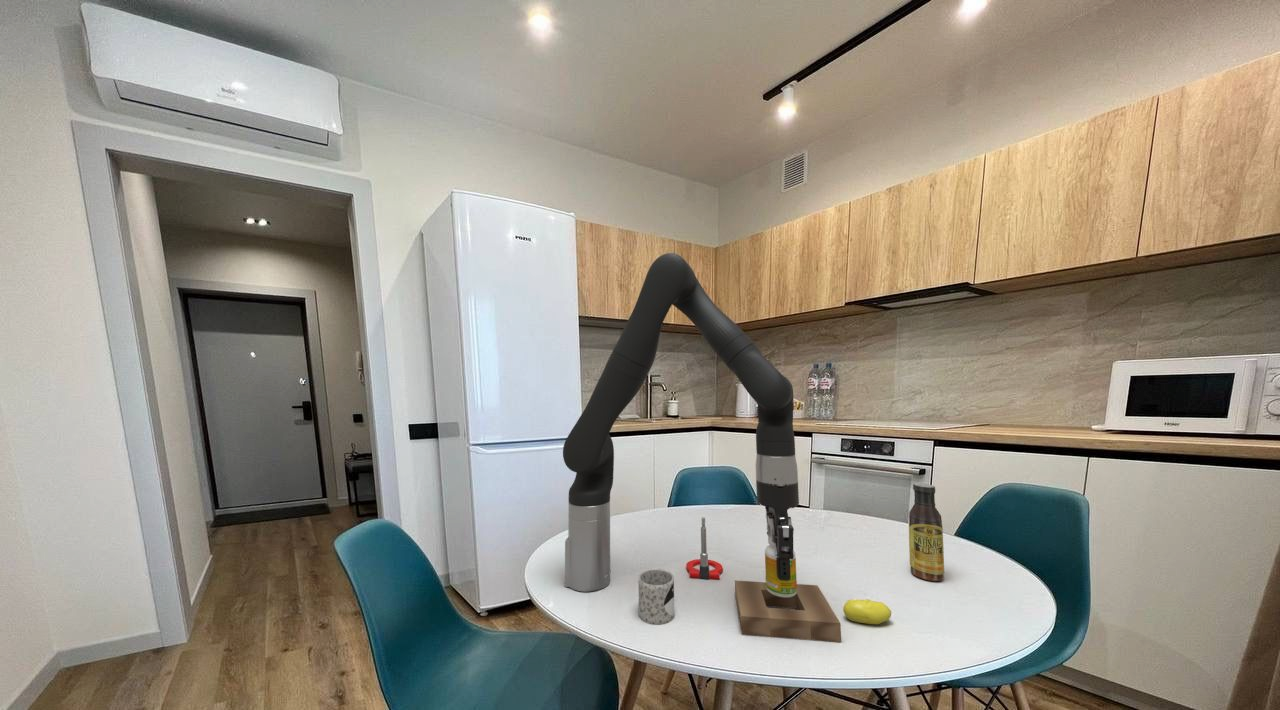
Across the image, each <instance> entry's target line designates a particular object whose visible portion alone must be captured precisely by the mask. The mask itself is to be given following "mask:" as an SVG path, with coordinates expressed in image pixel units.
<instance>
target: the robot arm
mask: <svg viewBox="0 0 1280 710" xmlns="http://www.w3.org/2000/svg"><path fill="white" fill-rule="evenodd" d="M672 306H673V307H675V308H676V309H677V310H679V311H680V312H681V313H682V314H684V315H685V316H686V318H688V319H689V321H691V323H692V324H693V325H694V326H695V328H697V330H698V331H699V332H700V334H701V335H702V337H703V338H704V339H705V341H706V343H707V344H708V345H709V346H710V348H711V349H712V350H713V352H714V353H715V354H716V355H717V357H718V358H719V359H720V360H721V361H722V362H723V363H724V365H725V366H726V367H727V368H728V369H729V370H730V371H731V372H732V373H733V374H734V375H735V376H736V377H737V379H738V381H739V382H740V384H742V386H743V388H744V389H745V391H747V393H748V394H749V396H750V397H751V399H753V401H755V403H756V404H757V419H758V423H757V425H756V430H755V431H756V432H755V441H756V442H755V445H756V449H755V450H756V451H755V452H756V458H755V487H756V489H755V490H756V502H757V503H758V504H759V505H760V506H763V507H764V509H765V518H766V535H767V536H768V535H769V534H771V540H772V542H773V543H774V544H775V551H776V553H775V556H776V565H777V577H778V579H779V580H790V578H791V576H790V559H793V557H794V554H793V550H794V531H795V530H794V529H795V528H794V527H793V526H794V525H793V522H792V518H791V516H789V514H788V511H789V509H794V508H796V507H798V506H799V504H800V497H799V496H800V495H799V493H800V492H799V476H798V475H799V474H798V470H799V469H798V464H797V457H796V456H797V455H796V440H795V439H796V438H795V432H794V424H793V423H794V422H793V420H794V388H793V385H792V383H791V381H790V379H788V377H786V376H785V375H784V374H782V373H781V372H780V371H779V370H778V369H777V368H776V367H775V366H774V365H773V364H772V362H770V361H769V360H768V359H767V358H766V357H765V356H764V355H763V353H762V351H761V350H760V349H759V347H758V345H756V343H754V341H753V340H752V339H751V338H750V337H749V336H748V335H747V334H746V333H745V332H744V331H743V330H742V329H741V327H739V326H738V324H736V323H735V322H734V321H733V320H732V319H731V318H730V317H728V315H727V314H726V313H724V312H723V311H722V310H721V309H720V308H719V307H718V306H717V305H716V303H714V302H713V300H712V299H711V298H710V297H709V295H708V294H707V292H706V291H705V290H704V288H703V286H702V285H701V283H700V281H699V280H698V278H697V276H696V274H695V271H694V270H693V268H692V267H691V265H689V263H688V262H687V261H686V260H685V259H684V258H683V256H681V255H679V254H678V253H675V252H668V253H663V254H662V255H660V256H658V257H657V258H656V259H655V260H654V261H653V262H652V264H651V265H650V267H649V269H648V271H647V273H646V276H645V279H644V281H643V284H642V287H641V290H640V291H639V295H638V297H637V299H636V302H635V305H634V308H633V310H632V312H631V314H630V315H629V317H628V320H627V321H626V323H625V325H624V328H623V329H622V333H621V334H620V336H619V338H618V340H617V342H616V344H615V345H614V348H613V350H612V352H611V354H610V355H609V358H608V360H607V362H606V364H605V366H604V367H603V370H602V372H601V374H600V377H599V379H598V382H597V383H596V385H595V386H594V389H593V391H592V394H591V396H590V397H589V401H587V404H586V406H585V408H584V410H583V411H582V413H581V414H580V416H579V418H578V420H577V421H576V422H575V424H574V426H573V427H572V429H571V430H570V432H569V433H568V434H567V437H566V439H565V442H564V443H563V447H562V458H563V462H564V464H565V466H566V467H567V468H568V469H569V470H570V471H571V472H573V473H576V474H575V478H574V480H573V483H572V484H571V486H570V487H569V489H568V509H567V510H568V512H567V513H568V515H567V516H568V517H567V518H568V526H567V527H568V529H567V530H568V531H567V532H568V534H567V535H568V537H567V538H566V539H565V541H564V587H565V588H567V587H568V588H571V589H572V590H574V591H577V592H583V593H585V592H595V591H598V590H602V589H604V588H605V587H607V586H609V584H610V583H611V571H612V570H611V493H612V492H611V491H612V489H613V484H614V472H615V471H614V468H615V467H614V465H615V464H614V463H615V450H614V448H615V447H614V442H613V439H612V437H611V434H610V432H611V430H612V427H613V426H614V424H615V423H616V421H617V419H618V417H619V416H620V415H621V414H622V412H623V411H624V410H625V409H626V407H628V405H629V404H630V403H631V401H633V400H634V398H635V396H636V395H637V394H638V392H639V391H640V390H641V389H642V387H643V384H644V382H645V381H646V379H647V377H648V375H649V372H650V370H651V369H652V367H653V364H654V361H655V358H656V356H657V350H658V347H659V340H660V335H661V330H662V326H663V324H664V321H665V319H666V317H667V315H668V313H669V311H670V309H671V308H672ZM775 536H777V538H776V537H775ZM782 547H786V549H787V551H781V548H782Z"/></svg>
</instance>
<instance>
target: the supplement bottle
mask: <svg viewBox="0 0 1280 710" xmlns="http://www.w3.org/2000/svg"><path fill="white" fill-rule="evenodd" d="M775 537H776V538H777V536H775ZM767 542H768V545H767V546H765V548H764V563H765V582H766V588H767V590H768V592H770V593H771V594H773V595H775V596H778V597H784V598H789V597H793V596H795V595H796V593H797V584H798V583H797V582H798V581H797V561H796V551H795V550H794V549H793V554H794V557H793V559H790V576H791V578H790V580H779V579H778V577H777V565H776V556H775V553H776V551H775V544H774V543H773V542H772V540H771V534H769V535H767ZM781 551H787V549H786V547H782V548H781Z"/></svg>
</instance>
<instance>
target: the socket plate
mask: <svg viewBox="0 0 1280 710" xmlns="http://www.w3.org/2000/svg"><path fill="white" fill-rule="evenodd" d="M734 598H735V604H736V610H737V615H738V622H739V627H740V633H741V636H752V637H753V636H756V637H766V638H767V637H768V638H780V639H792V640H793V639H794V640H806V641H815V642H816V641H819V642H820V641H821V642H829V643H830V642H831V643H832V642H833V643H842V631H841V630H842V627H841V622H840V620H839V618H838V617H837V614H835V612H834V610H833V608H832V606H831V605H830V604H829V602H828V601H827V599H826V596H825V595H824V594H823V592H822V591H821V589H820V587H819V585H817V584H805V583H804V584H802V583H801V584H800V583H797V593H796V595H795V596H793V597H789V598H784V597H778V596H775V595H773V594H771V593H770V592H768V590H767V588H766V581H751V580H750V581H749V580H734Z"/></svg>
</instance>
